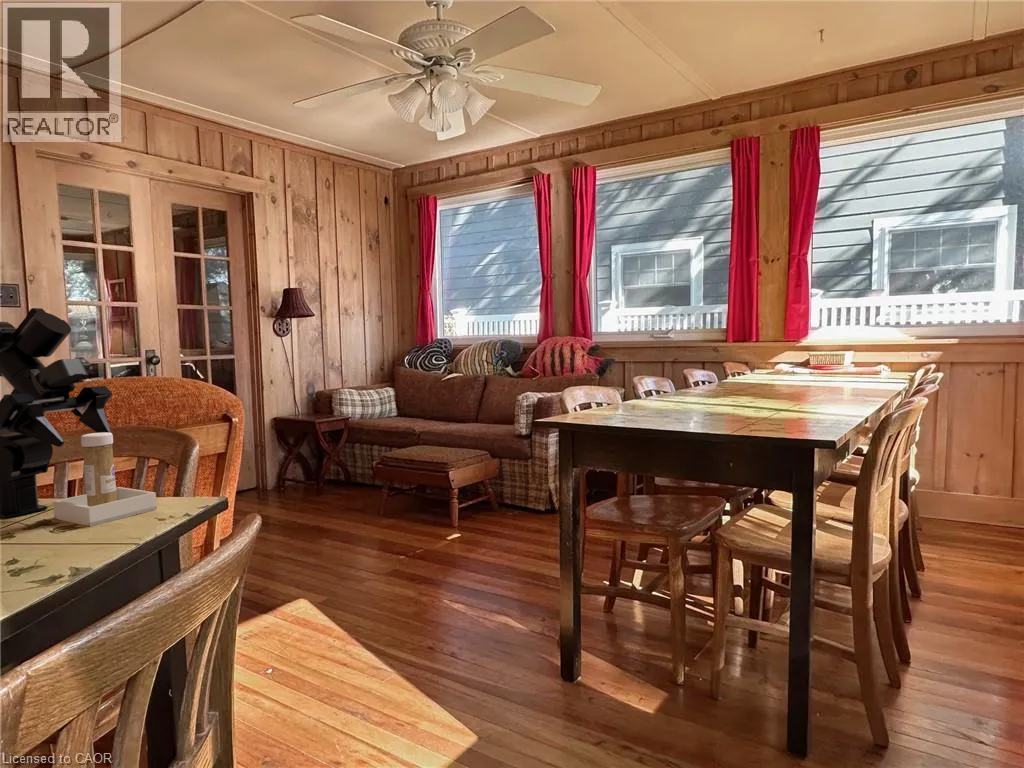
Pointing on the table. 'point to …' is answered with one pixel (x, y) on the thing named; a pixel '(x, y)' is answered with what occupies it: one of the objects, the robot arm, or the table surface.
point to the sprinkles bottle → (99, 468)
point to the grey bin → (104, 507)
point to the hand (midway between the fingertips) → (86, 440)
